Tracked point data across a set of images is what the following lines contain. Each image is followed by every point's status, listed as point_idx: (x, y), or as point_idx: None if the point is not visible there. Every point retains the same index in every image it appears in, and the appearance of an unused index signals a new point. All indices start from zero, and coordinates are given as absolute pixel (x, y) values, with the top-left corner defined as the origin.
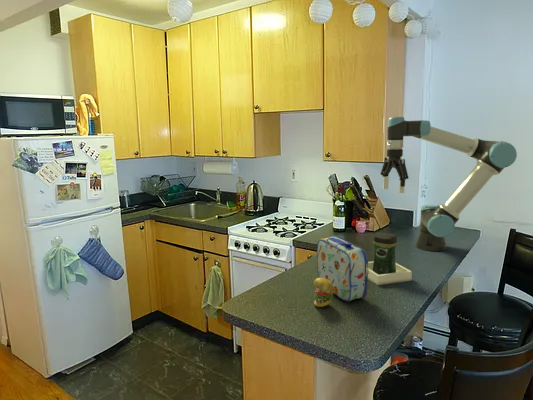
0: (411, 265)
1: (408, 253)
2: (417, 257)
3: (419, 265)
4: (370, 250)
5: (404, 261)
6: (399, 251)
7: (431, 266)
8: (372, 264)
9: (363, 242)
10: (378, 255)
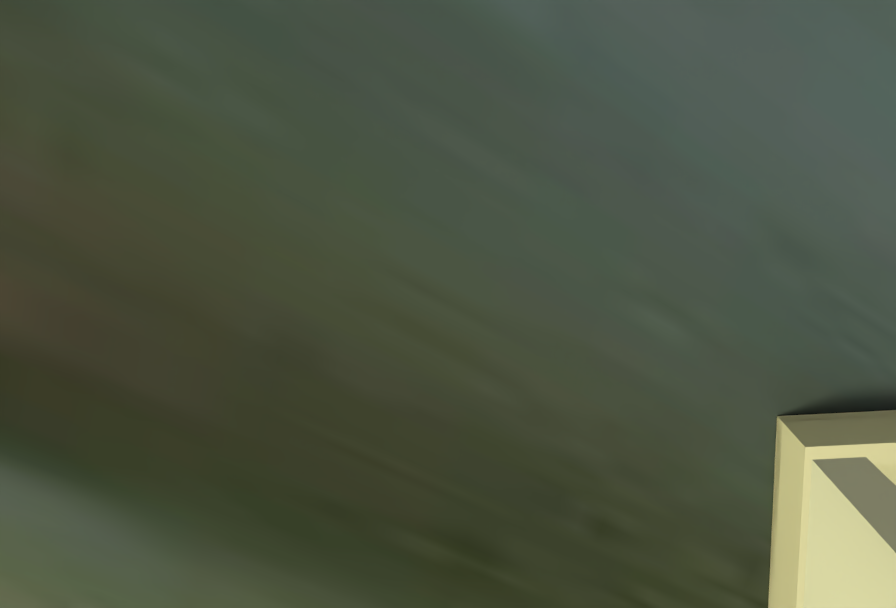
0: (801, 213)
1: (495, 42)
2: (631, 26)
3: (828, 144)
4: (316, 351)
5: (690, 214)
6: (413, 96)
7: (891, 52)
8: None
9: (50, 297)
10: None
